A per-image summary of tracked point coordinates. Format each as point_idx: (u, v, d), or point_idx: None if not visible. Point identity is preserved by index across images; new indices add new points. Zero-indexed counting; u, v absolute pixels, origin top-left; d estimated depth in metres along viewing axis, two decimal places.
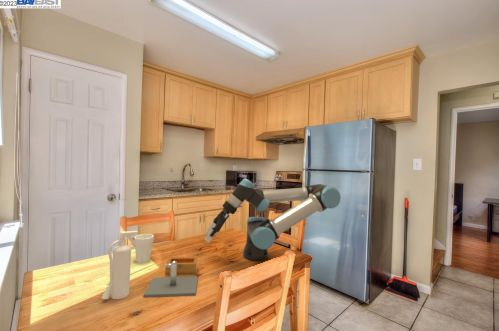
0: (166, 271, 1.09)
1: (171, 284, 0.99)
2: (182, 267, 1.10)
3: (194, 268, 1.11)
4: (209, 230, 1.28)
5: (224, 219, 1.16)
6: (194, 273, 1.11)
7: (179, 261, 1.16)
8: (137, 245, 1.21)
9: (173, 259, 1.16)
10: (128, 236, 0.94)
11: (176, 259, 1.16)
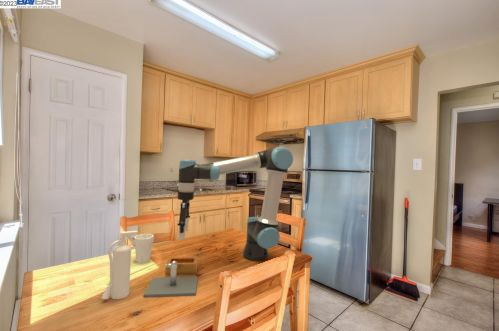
0: (166, 271, 1.09)
1: (171, 284, 0.99)
2: (182, 267, 1.10)
3: (194, 268, 1.11)
4: (185, 227, 1.20)
5: (183, 209, 1.07)
6: (194, 273, 1.11)
7: (179, 261, 1.16)
8: (137, 245, 1.21)
9: (173, 259, 1.16)
10: (128, 236, 0.94)
11: (176, 259, 1.16)
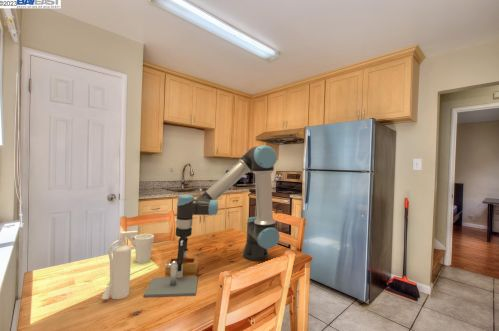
0: (166, 271, 1.09)
1: (171, 284, 0.99)
2: None
3: (194, 268, 1.11)
4: None
5: (181, 247, 1.07)
6: (194, 273, 1.11)
7: None
8: (137, 245, 1.21)
9: (173, 259, 1.16)
10: (128, 236, 0.94)
11: (176, 259, 1.16)
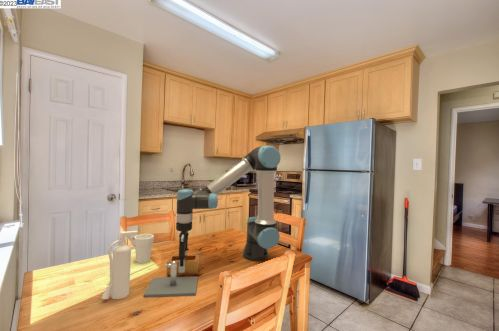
0: (168, 269, 1.09)
1: (171, 284, 0.99)
2: None
3: (195, 265, 1.11)
4: None
5: (182, 244, 1.07)
6: (196, 270, 1.11)
7: None
8: (137, 245, 1.21)
9: (174, 257, 1.16)
10: (128, 236, 0.94)
11: (177, 257, 1.16)
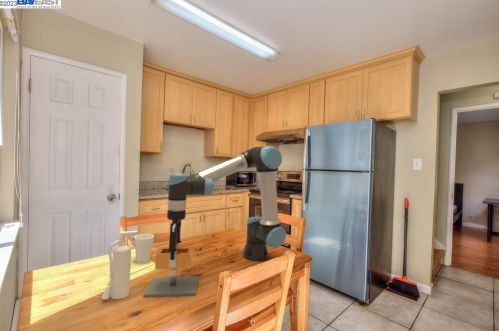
0: (156, 262, 0.96)
1: (171, 284, 0.99)
2: None
3: (188, 259, 0.98)
4: None
5: (173, 234, 0.94)
6: (188, 265, 0.98)
7: None
8: (137, 245, 1.21)
9: (165, 249, 1.02)
10: (128, 236, 0.94)
11: None
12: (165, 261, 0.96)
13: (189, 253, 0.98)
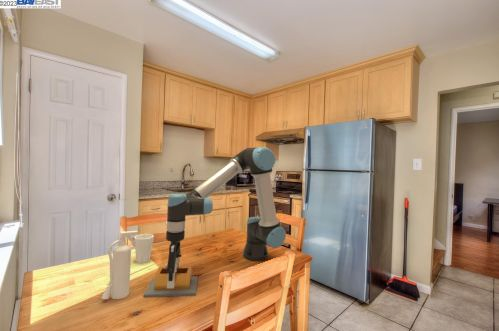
0: (155, 283, 0.96)
1: None
2: None
3: (187, 280, 0.98)
4: None
5: (172, 254, 0.93)
6: (187, 285, 0.98)
7: None
8: (137, 245, 1.21)
9: (164, 269, 1.02)
10: (128, 236, 0.94)
11: None
12: (164, 282, 0.96)
13: (188, 273, 0.99)
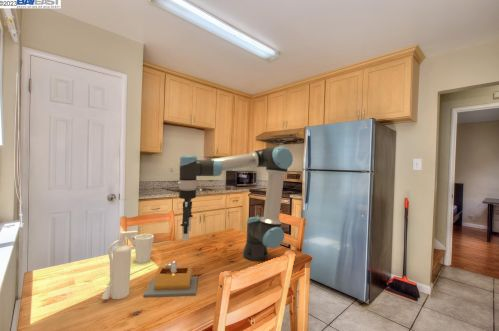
0: (155, 283, 0.96)
1: None
2: (173, 278, 0.97)
3: (187, 280, 0.98)
4: None
5: (186, 209, 1.00)
6: (187, 285, 0.98)
7: None
8: (137, 245, 1.21)
9: (164, 269, 1.02)
10: (128, 236, 0.94)
11: (167, 269, 1.03)
12: (164, 282, 0.96)
13: (188, 273, 0.99)
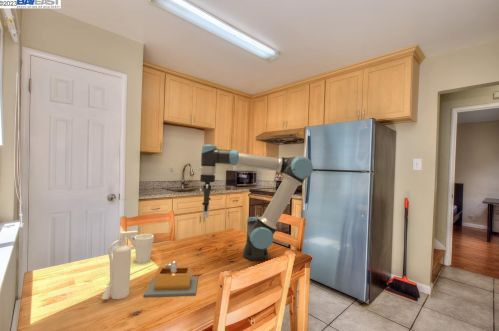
0: (155, 283, 0.96)
1: None
2: (173, 278, 0.97)
3: (187, 280, 0.98)
4: None
5: (207, 190, 1.16)
6: (187, 285, 0.98)
7: None
8: (137, 245, 1.21)
9: (164, 269, 1.02)
10: (128, 236, 0.94)
11: (167, 269, 1.03)
12: (164, 282, 0.96)
13: (188, 273, 0.99)
